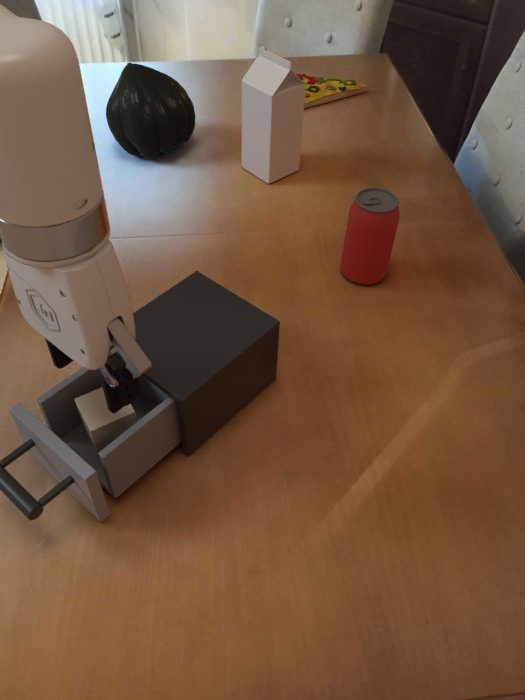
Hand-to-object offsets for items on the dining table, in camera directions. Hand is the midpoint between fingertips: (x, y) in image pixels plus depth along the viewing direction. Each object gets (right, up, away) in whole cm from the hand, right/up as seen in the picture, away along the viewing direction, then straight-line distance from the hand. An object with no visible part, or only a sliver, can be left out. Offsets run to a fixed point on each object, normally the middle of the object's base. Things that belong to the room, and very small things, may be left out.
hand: (96, 379), depth 55 cm
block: (0, -6, +6) cm, 8 cm away
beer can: (+30, +14, +30) cm, 44 cm away
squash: (-4, +39, +52) cm, 66 cm away
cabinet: (+7, -2, +15) cm, 17 cm away
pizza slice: (+27, +56, +69) cm, 93 cm away
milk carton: (+17, +34, +48) cm, 61 cm away
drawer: (-2, -9, +7) cm, 11 cm away
